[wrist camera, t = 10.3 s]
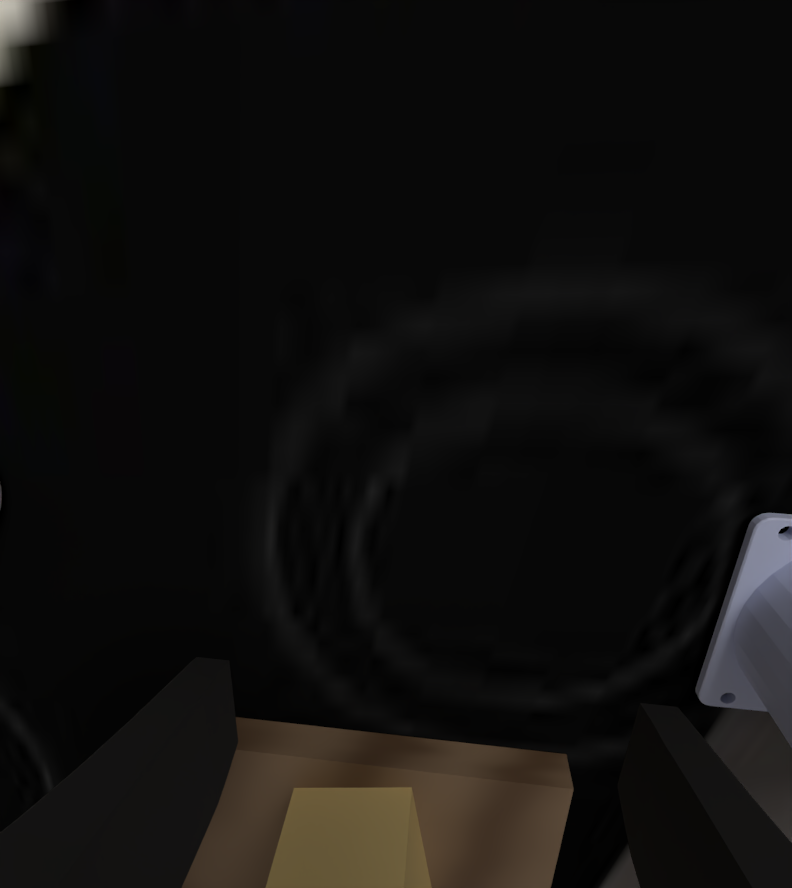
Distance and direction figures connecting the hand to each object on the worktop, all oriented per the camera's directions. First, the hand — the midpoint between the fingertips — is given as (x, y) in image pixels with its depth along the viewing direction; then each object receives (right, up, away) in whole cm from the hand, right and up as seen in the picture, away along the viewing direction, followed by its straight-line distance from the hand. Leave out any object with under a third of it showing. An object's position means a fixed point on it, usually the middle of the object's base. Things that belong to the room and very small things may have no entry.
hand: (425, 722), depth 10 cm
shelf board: (-3, -13, +16) cm, 21 cm away
